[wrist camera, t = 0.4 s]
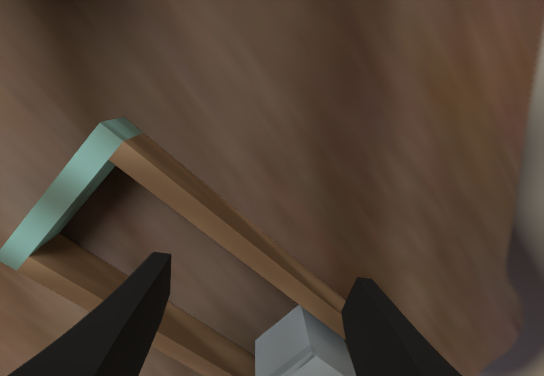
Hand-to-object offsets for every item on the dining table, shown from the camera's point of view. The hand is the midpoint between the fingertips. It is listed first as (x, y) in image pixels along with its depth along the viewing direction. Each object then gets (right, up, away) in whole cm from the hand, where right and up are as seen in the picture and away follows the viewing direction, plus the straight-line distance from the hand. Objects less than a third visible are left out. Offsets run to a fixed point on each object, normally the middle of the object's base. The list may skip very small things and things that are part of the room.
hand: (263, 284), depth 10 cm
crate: (+3, -11, +16) cm, 19 cm away
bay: (-3, -5, +13) cm, 14 cm away
